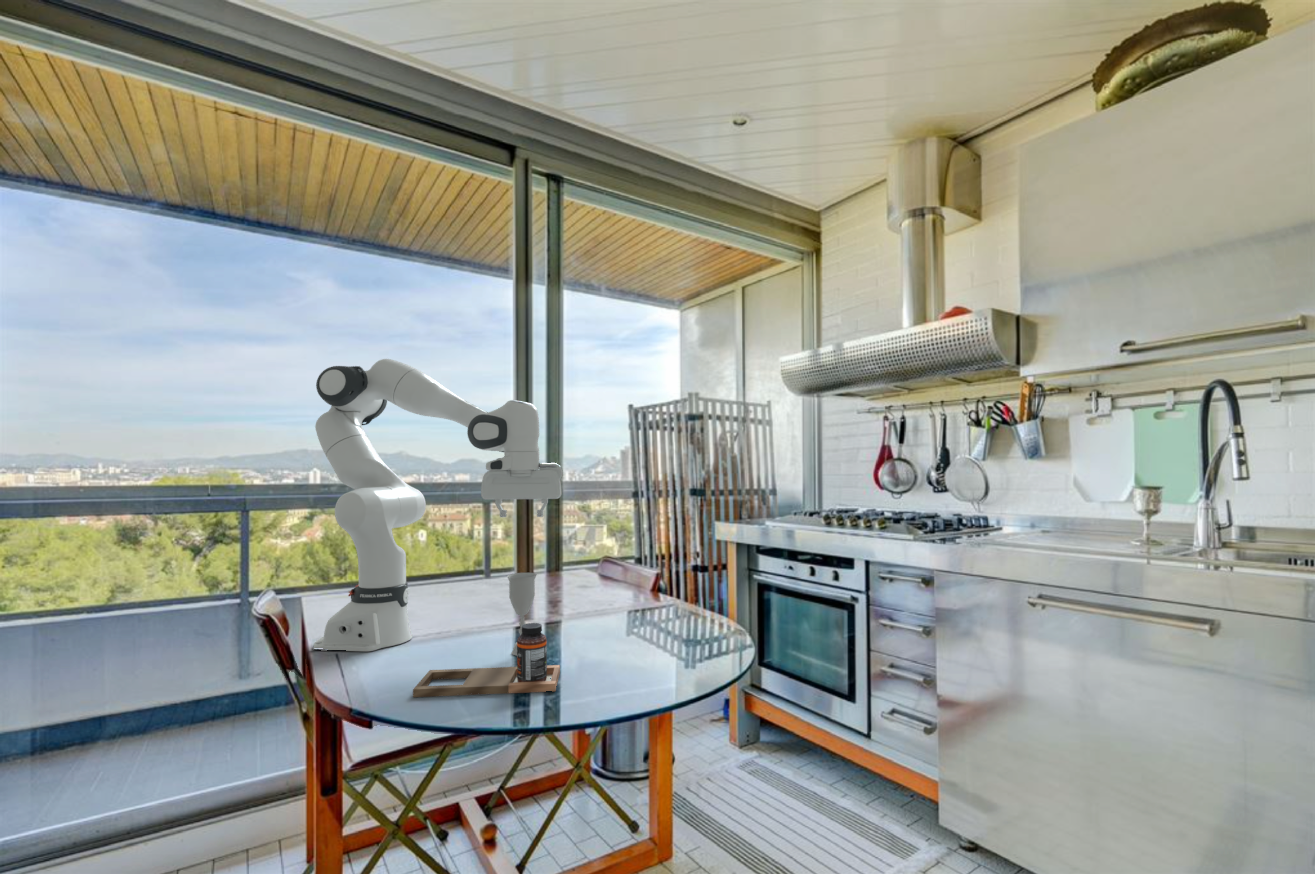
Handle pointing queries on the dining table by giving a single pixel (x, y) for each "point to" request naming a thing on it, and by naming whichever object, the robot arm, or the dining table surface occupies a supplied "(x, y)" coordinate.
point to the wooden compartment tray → (484, 682)
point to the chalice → (521, 596)
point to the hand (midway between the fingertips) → (521, 517)
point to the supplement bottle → (531, 654)
